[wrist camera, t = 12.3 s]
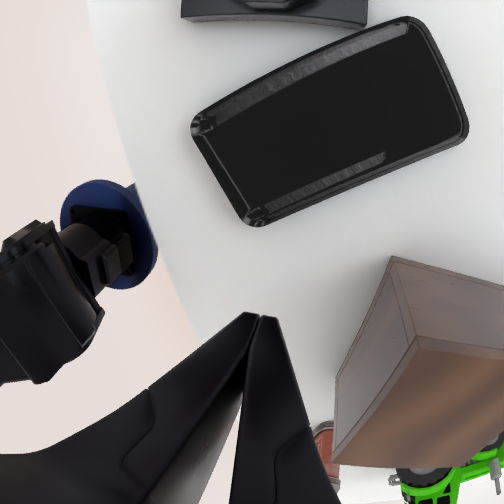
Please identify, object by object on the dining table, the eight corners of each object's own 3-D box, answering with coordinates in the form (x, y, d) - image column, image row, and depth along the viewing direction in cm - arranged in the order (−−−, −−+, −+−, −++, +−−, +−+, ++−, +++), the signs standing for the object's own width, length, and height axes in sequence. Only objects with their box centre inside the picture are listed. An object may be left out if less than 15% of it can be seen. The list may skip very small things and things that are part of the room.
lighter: (326, 454, 34) (318, 525, 25) (300, 450, 34) (288, 522, 25) (349, 423, 30) (345, 508, 21) (319, 419, 30) (309, 505, 21)
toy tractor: (497, 443, 29) (508, 501, 20) (391, 473, 35) (390, 533, 26) (509, 404, 25) (528, 474, 16) (382, 442, 31) (382, 517, 22)
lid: (558, 357, 12) (562, 365, 12) (459, 459, 19) (460, 466, 18) (416, 335, 13) (419, 347, 13) (331, 454, 20) (330, 463, 19)
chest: (513, 288, 19) (555, 356, 12) (443, 392, 25) (456, 459, 19) (391, 255, 20) (416, 334, 13) (335, 377, 26) (331, 453, 20)
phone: (183, 122, 18) (418, 11, 12) (190, 120, 19) (413, 15, 13) (249, 234, 20) (475, 139, 14) (252, 227, 21) (467, 136, 15)
